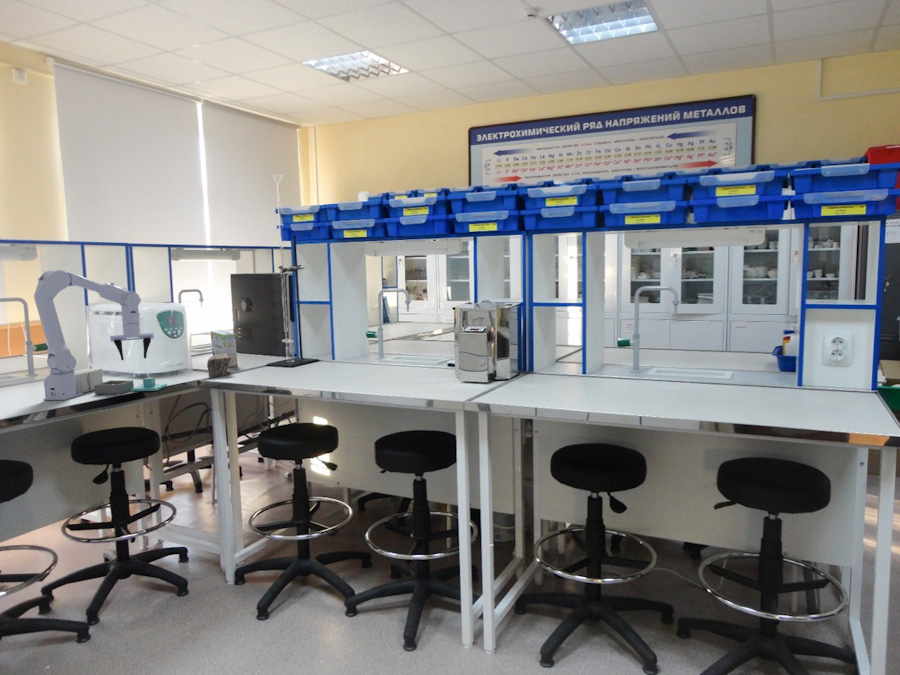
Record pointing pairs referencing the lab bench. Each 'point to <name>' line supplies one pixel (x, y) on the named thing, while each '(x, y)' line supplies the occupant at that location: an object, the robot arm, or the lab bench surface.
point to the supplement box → (87, 379)
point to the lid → (149, 385)
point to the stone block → (218, 364)
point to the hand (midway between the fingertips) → (133, 359)
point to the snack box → (224, 345)
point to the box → (114, 387)
